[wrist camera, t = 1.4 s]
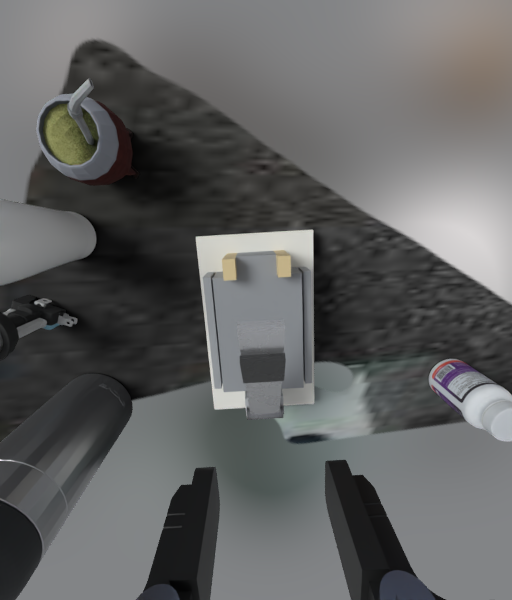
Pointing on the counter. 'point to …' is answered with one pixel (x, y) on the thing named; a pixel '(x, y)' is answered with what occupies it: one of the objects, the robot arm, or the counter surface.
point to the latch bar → (262, 366)
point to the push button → (29, 320)
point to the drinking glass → (40, 239)
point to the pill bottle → (474, 397)
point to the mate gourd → (85, 139)
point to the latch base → (250, 243)
